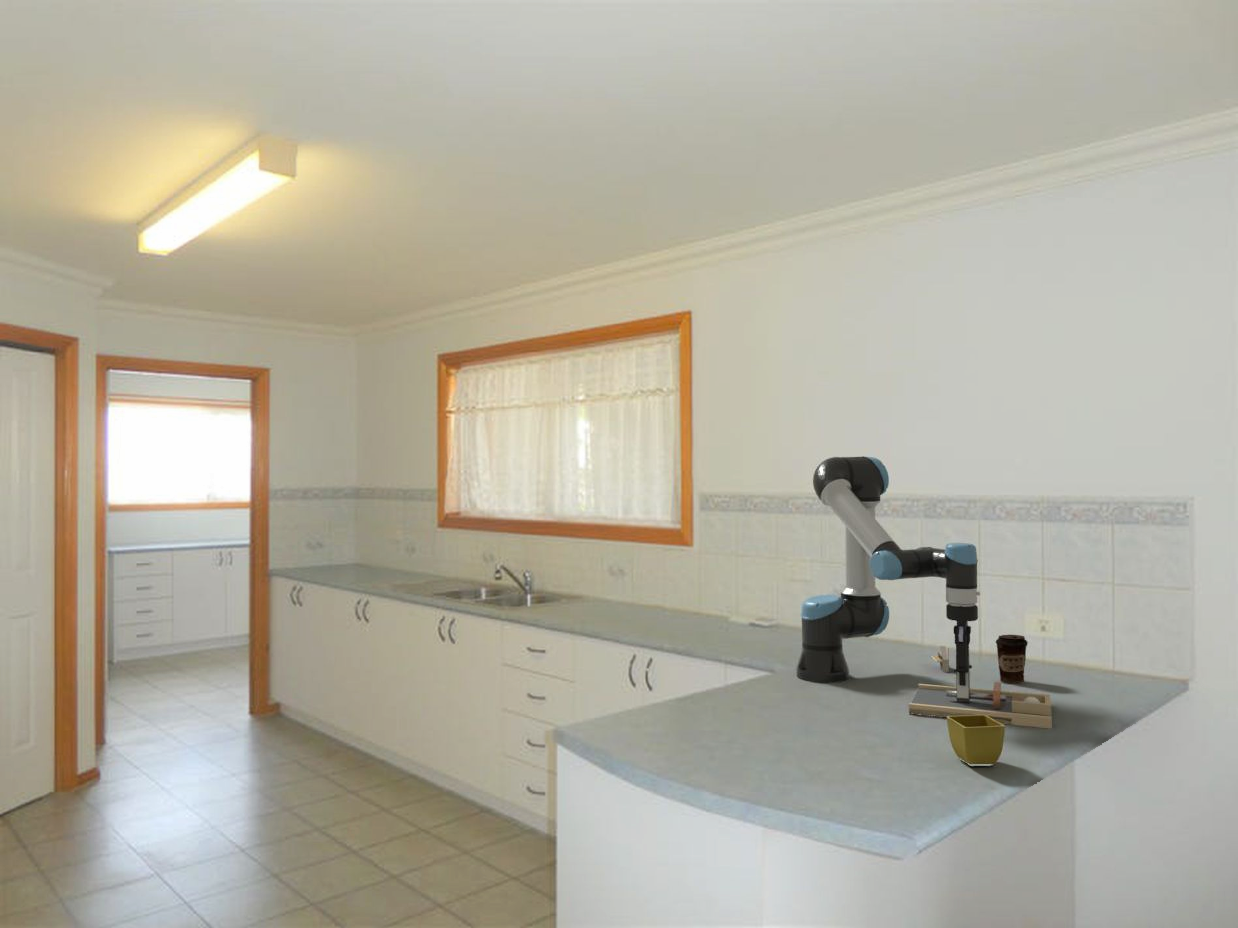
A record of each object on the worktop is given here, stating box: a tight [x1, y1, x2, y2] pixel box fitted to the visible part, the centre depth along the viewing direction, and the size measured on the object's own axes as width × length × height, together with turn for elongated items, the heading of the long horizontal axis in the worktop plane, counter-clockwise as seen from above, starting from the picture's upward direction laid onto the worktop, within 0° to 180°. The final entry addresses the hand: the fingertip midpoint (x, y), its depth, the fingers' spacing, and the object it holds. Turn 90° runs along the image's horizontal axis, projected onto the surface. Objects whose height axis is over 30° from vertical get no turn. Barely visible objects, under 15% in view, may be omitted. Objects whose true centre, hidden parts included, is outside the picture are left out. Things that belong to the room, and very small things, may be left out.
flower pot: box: [946, 715, 1006, 765], centre depth 183 cm, size 9×9×9 cm
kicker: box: [946, 652, 1006, 709], centre depth 223 cm, size 14×9×12 cm, turn 65°
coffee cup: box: [995, 634, 1029, 684], centre depth 250 cm, size 9×8×13 cm
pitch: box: [908, 683, 1053, 730], centre depth 223 cm, size 32×22×4 cm
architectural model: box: [931, 644, 950, 673], centre depth 266 cm, size 3×7×7 cm, turn 173°
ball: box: [1024, 697, 1040, 703], centre depth 218 cm, size 4×4×4 cm
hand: (963, 695), depth 224 cm, fingers closed on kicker, 3 cm apart
